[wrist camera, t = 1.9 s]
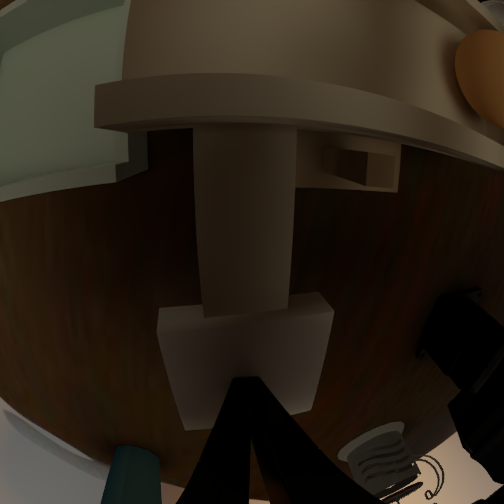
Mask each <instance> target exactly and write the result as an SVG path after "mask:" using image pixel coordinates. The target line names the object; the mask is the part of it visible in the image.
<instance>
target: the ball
mask: <svg viewBox="0 0 504 504" xmlns="http://www.w3.org/2000/svg"><path fill="white" fill-rule="evenodd" d="M455 72H456V77H457V81H458V84H459V86H460V88H461V91H462V93H463V95H464V96H465V98H466V100H467V101H468V103H469V104H470V105H471V107H472V108H473V109H474V110H475V111H476V112H477V113H478V114H479V115H480V116H481V117H482V118H484V119H485V120H486V121H488V122H489V123H491V124H493V125H495V126H497V127H499V128H502V129H504V34H503V33H501V32H498V31H494V30H488V29H484V30H477V31H474V32H472V33H470V34H468V35H467V36H466V37H465V38H464V39H463V40H462V41H461V43H460V44H459V46H458V49H457V51H456V56H455Z"/></svg>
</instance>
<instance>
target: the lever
mask: <svg viewBox="0 0 504 504" xmlns="http://www.w3.org/2000/svg"><path fill="white" fill-rule="evenodd" d="M484 29H488V30H494V31H498V32H501V33H503V34H504V26H503V25H502V24H501V23H500V22H499V21H498V20H497V19H496V18H495V17H494V16H493V15H492V14H491V13H490V12H489V11H488V10H487V9H486V8H485V7H484V6H483V5H482V4H481V3H480V2H479V1H478V0H131V3H130V9H129V15H128V21H127V28H126V36H125V44H124V54H123V65H122V80H120V81H114V82H108V83H103V84H98V85H95V95H94V128H100V129H106V130H112V131H118V132H124V133H136V132H145V131H155V130H167V129H181V128H193V158H194V192H195V215H196V233H197V248H198V262H199V275H200V287H201V298H202V304H201V305H190V306H177V307H163V308H159V315H158V324H157V336H158V341H159V345H160V349H161V353H162V356H163V360H164V364H165V368H166V371H167V375H168V378H169V382H170V385H171V389H172V392H173V395H174V398H175V401H176V405H177V408H178V411H179V414H180V417H181V420H182V422H183V425H184V428H185V430H197V429H208V428H213V426H214V423H215V421H216V418H217V416H218V414H219V411H220V409H221V406H222V404H223V401H224V399H225V396H226V394H227V391H228V389H229V386H230V384H231V381H232V379H233V378H235V377H245V378H247V377H250V376H259V377H260V378H261V379H262V381H263V382H264V383H265V384H266V386H267V387H268V388H269V389H270V391H271V392H272V393H273V394H274V396H275V397H276V398H277V399H278V401H279V402H280V403H281V404H282V406H283V407H284V408H285V409H286V410H287V412H288V413H289V414H290V415H293V414H297V413H301V412H305V411H309V410H311V408H312V404H313V401H314V397H315V394H316V390H317V386H318V382H319V378H320V375H321V371H322V366H323V362H324V358H325V354H326V349H327V345H328V341H329V336H330V331H331V326H332V321H333V316H334V310H333V308H332V307H331V306H330V305H329V304H328V303H327V301H326V300H325V299H324V298H323V297H322V295H321V294H320V293H319V292H318V291H316V292H308V293H301V294H293V295H289V283H290V270H291V256H292V240H293V223H294V203H295V180H296V148H297V129H301V130H313V131H323V132H332V133H340V134H348V135H355V136H362V137H368V138H374V139H380V140H385V141H390V142H396V143H400V144H405V145H410V146H414V147H419V148H423V149H427V150H431V151H435V152H439V153H442V154H446V155H450V156H453V157H457V158H460V159H463V160H467V161H470V162H473V163H476V164H479V165H482V166H485V167H488V168H492V169H496V170H499V171H503V172H504V129H502V128H499V127H497V126H495V125H493V124H491V123H489V122H488V121H486V120H485V119H484V118H482V117H481V116H480V115H479V114H478V113H477V112H476V111H475V110H474V109H473V108H472V107H471V105H470V104H469V103H468V101H467V100H466V98H465V96H464V95H463V93H462V91H461V88H460V86H459V84H458V81H457V77H456V72H455V56H456V51H457V49H458V46H459V44H460V43H461V41H462V40H463V39H464V38H465V37H466V36H467V35H468V34H470V33H472V32H474V31H477V30H484Z"/></svg>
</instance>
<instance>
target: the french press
mask: <svg viewBox="0 0 504 504" xmlns="http://www.w3.org/2000/svg"><path fill="white" fill-rule="evenodd" d="M403 429H404V423H402V422H391V423H388V424H385V425H382V426H379V427H377V428H375V429H373V430H371V431H369V432H366V433H364V434H362V435H361V436H359V437H358V438H356V439H354V440H353V441H351V442H350V443H348V444H347V445H346V446H345V447H343V448H342V449H341V450H340V452H339V454H338V455H337V456H338V458H339V459H340V460H343V461H346V462H348V464H349V466H350V469H351V472H352V474H353V477H354V480H355V482H356V483H357V484H359V485H360V486H361V487H363V488H364V489H365V490H367V491H368V492H369V493H371V494H372V495H374V496H375V497H376V498H378V499H380V498H383V497H385V496H387V495H389V494H392V493H394V492H396V491H397V490H399V489H401V488H403V487H405V486H406V485H408V484H410V483H411V482H413V481H414V480H415V479H416V478H417V477H418V476H417V474H421V472H420V470H419V468H418V466H417V464H416V462H415V461H424V462H426V463H428V464H430V465H431V466H432V467H433V469H434V470H435V472H436V474H437V478H438V485H437V488H436V491H435V492H434V494H432V492H431V491H430V490H427V491H426V492H425V497H426V499H428V500H430V499H432V498H433V497H434V496H436V495H437V494H438V492H439V491H440V489H441V488H442V485H443V483H444V471H443V468H442V467H441V465H440V463H439V462H438V461H437V460H436V459H435V458H433V457H431V456H428V455H413V454H412V452H411V451H410V449H409V447H408V445H407V443H406V442H405V440H404V438H403V436H402V432H403ZM400 439H401V440H402V443H401V442H400ZM404 446H405V447H406V450H404V448H403V447H404ZM408 453H409V455H410V457H408V455H407V454H408ZM391 454H392V455H393V456H391V457H390V455H391ZM416 456H425V457H430V458H431V459H433V460H434V461H435V462H436V463H437V464H438V465H439V467H440V469H441V471H442V483H441V486H440V489H439V490H438V491H437V489H438V487H439V480H440V479H439V474H438V472H437V470H436V468H435V467H434V466H433V465H432V464H431V463H430V462H428V461H427V460H423V459H414V458H413V457H416ZM394 461H396V464H394V465H391V464H392V463H393V462H394ZM411 461H413V463H414V465H413V466H412V464H411ZM383 462H388V463H387V464H385V465H384V466H380V467H375V468H372V469H364V468H365V467H366V466H376V465H379V464H381V463H383ZM358 465H360V467H359V466H358ZM398 468H399V471H398V472H397V473H396V474H392V473H393V472H394V471H395V470H396V469H398ZM384 470H389V471H388V472H387V473H385V474H382V475H379V476H368V475H369V474H372V473H377V472H381V471H384ZM361 472H365V473H364V474H363V475H362V474H361ZM364 479H370V480H369V481H368V482H365V481H364ZM394 484H395V485H394ZM392 485H394V486H392ZM422 485H423V482H417V483H415V484H413V485H410V486H408V487H406V488H404V489H402V490H400V491H398V492H396V493H394V494H392V495H389V496H387V497H386V498H384V499H382V501H383V502H385V503H387V504H390V503H393V502H395V501H396V502H397V503H398V504H400V503H399V500H400V498H401V499H402V497H405V495H406V496H407V495H409V494H410V493H412V492H414V491H416V490H417V489H418V487H419V488H420V487H421V486H422ZM390 486H392V487H391V488H388V487H390ZM386 488H387V489H386ZM427 492H429V493H430V495H431V498H428V496H427ZM436 492H437V493H436ZM435 493H436V494H435ZM434 504H437V503H434Z"/></svg>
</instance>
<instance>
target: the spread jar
mask: <svg viewBox="0 0 504 504" xmlns="http://www.w3.org/2000/svg"><path fill="white" fill-rule="evenodd" d="M481 4H482V5H483V6H484V7H485V8H486V9H487V10H488V11H489V12H490V13H491V14H492V15H493V16H494V17H495V18H496V19H497V20H498V21H499V22H500V23H501V24H502V25H503V26H504V0H489V1H484V2H482V3H481Z"/></svg>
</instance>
